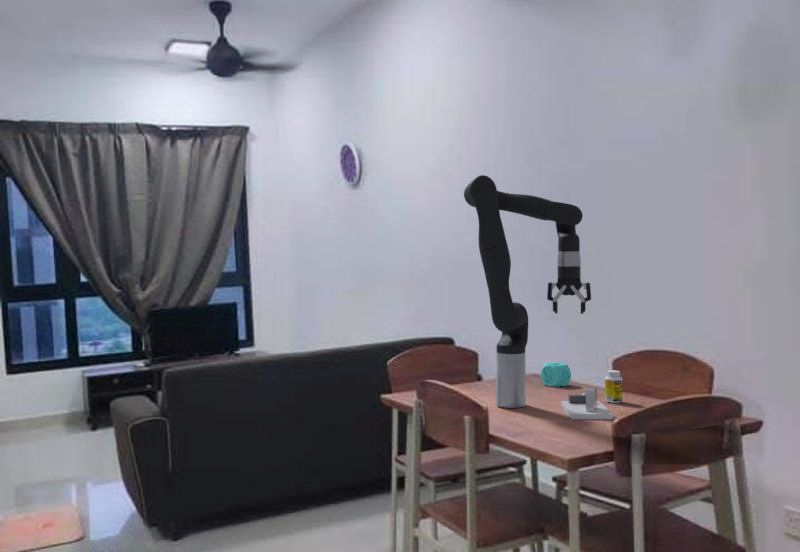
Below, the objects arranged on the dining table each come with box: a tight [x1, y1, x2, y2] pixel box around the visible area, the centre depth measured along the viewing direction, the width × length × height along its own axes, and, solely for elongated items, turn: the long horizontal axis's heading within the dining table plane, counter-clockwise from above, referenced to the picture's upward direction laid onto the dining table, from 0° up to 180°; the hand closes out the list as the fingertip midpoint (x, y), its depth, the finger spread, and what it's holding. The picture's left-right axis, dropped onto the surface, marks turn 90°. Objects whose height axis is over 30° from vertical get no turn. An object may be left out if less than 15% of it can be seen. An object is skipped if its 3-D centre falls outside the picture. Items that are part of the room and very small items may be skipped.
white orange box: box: [585, 386, 598, 411], centre depth 227 cm, size 6×3×6 cm, turn 159°
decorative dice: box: [540, 362, 572, 388], centre depth 278 cm, size 8×8×8 cm
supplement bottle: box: [604, 369, 623, 404], centre depth 245 cm, size 6×6×10 cm
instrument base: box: [560, 392, 614, 420], centre depth 230 cm, size 12×20×5 cm, turn 177°
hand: (569, 313), depth 250 cm, fingers open, 8 cm apart
